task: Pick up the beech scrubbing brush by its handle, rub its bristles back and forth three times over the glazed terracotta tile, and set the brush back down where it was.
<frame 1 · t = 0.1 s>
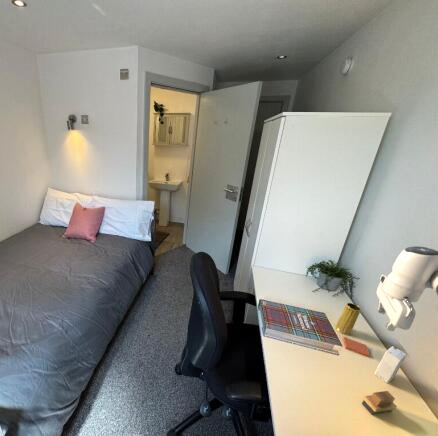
hand: (384, 320, 84), 24 cm above the table, tool pointing down, fingers open, 8 cm apart
vase: (342, 330, 110), on the table
tile: (355, 347, 101), on the table
cosmetic box: (383, 375, 90), on the table
brush: (376, 407, 79), on the table
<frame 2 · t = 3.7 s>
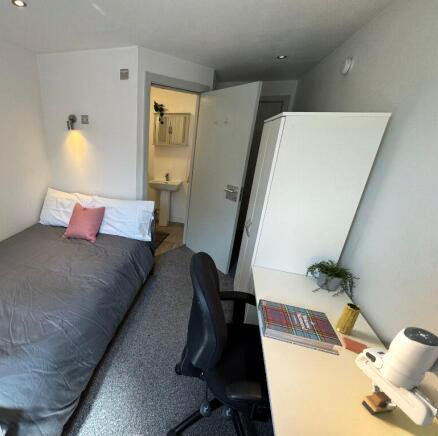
hand: (381, 400, 78), 4 cm above the table, tool pointing down, fingers closed on brush, 2 cm apart
brush: (376, 407, 79), on the table, touching gripper
everything else where it was.
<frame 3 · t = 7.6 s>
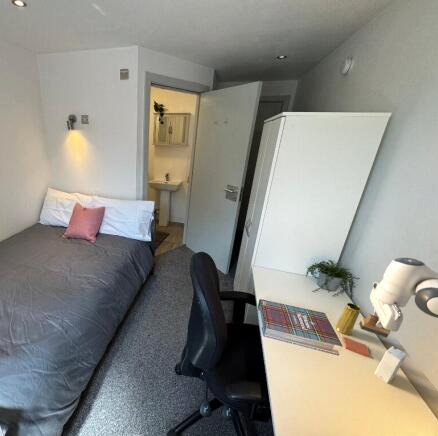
hand: (376, 323, 93), 16 cm above the table, tool pointing down, fingers closed on brush, 2 cm apart
brush: (372, 330, 95), point 12 cm above the table, touching gripper
everything else where it was.
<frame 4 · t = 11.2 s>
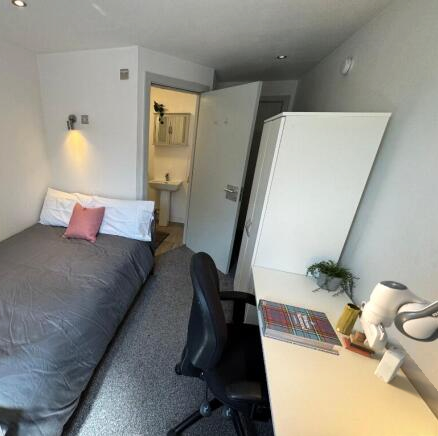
hand: (364, 340, 99), 5 cm above the table, tool pointing down, fingers closed on brush, 2 cm apart
brush: (360, 346, 100), point 1 cm above the table, touching gripper
everything else where it was.
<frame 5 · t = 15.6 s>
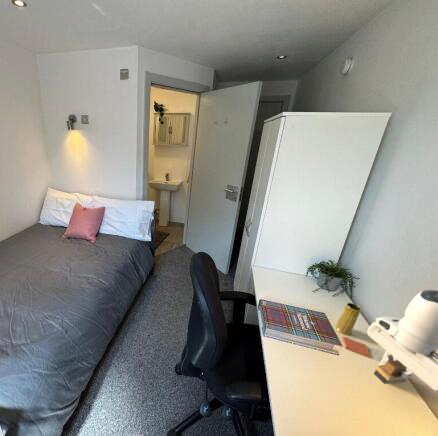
hand: (395, 369, 74), 17 cm above the table, tool pointing down, fingers closed on brush, 2 cm apart
brush: (389, 377, 76), point 13 cm above the table, touching gripper
everything else where it was.
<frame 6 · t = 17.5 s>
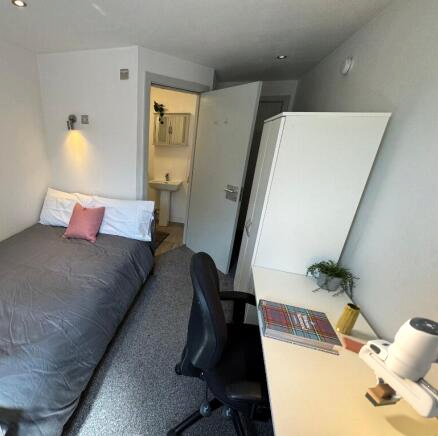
hand: (385, 392, 76), 8 cm above the table, tool pointing down, fingers closed on brush, 2 cm apart
brush: (379, 399, 78), point 4 cm above the table, touching gripper
everything else where it was.
when the fingers open (4 cm above the table, at t = 18.9 s): brush stays where it is, on the table.
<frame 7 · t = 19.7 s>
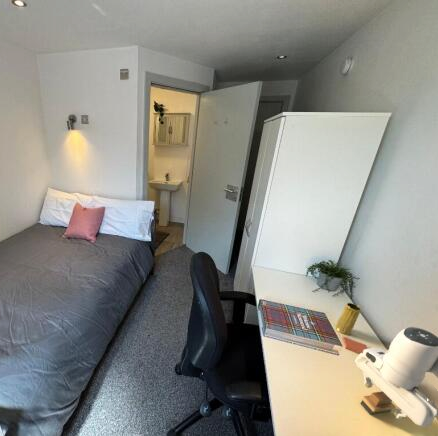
hand: (381, 400, 78), 4 cm above the table, tool pointing down, fingers open, 8 cm apart
brush: (375, 407, 79), on the table
everything else where it was.
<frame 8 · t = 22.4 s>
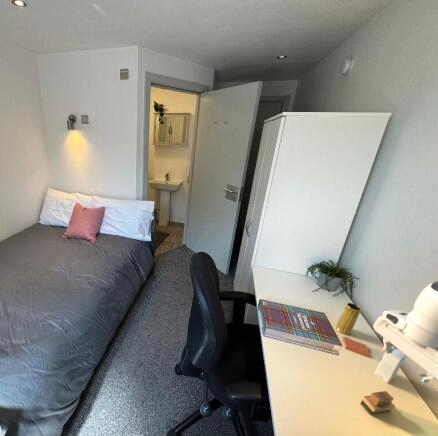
hand: (403, 365, 71), 21 cm above the table, tool pointing down, fingers open, 8 cm apart
nothing on the table moved.
at the end: brush inside the target area on the table beside the tile (0.5 cm from its centre), on the table; brush tilted 0°; the gripper is holding nothing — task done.
